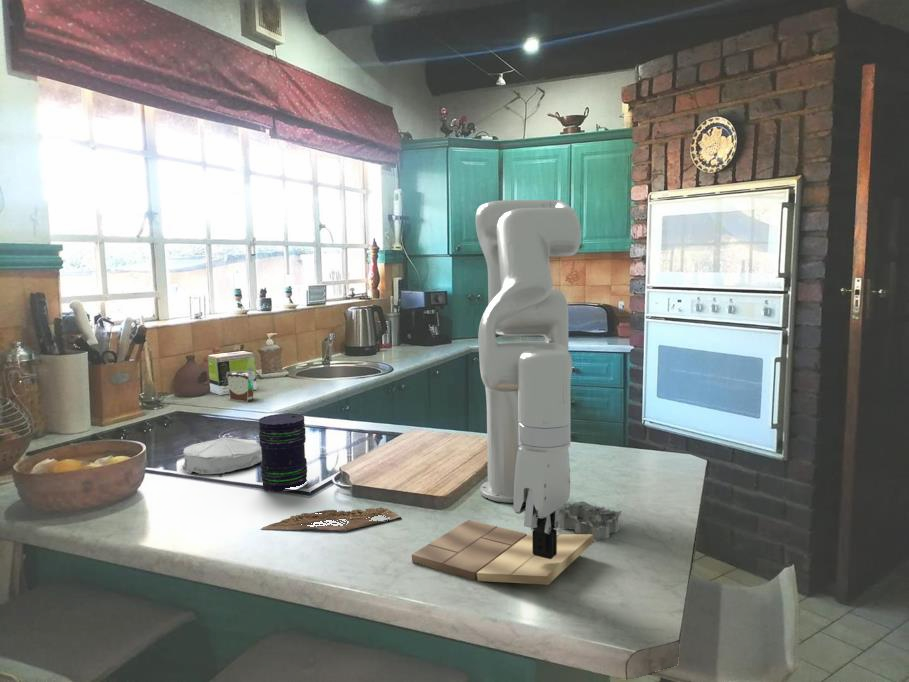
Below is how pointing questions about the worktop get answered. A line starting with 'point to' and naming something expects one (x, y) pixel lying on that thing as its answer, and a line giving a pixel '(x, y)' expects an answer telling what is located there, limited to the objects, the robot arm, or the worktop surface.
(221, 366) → the tea box
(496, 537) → the laid board
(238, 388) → the food container
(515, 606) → the worktop surface
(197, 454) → the food container
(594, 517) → the egg carton
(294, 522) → the wooden fragment
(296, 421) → the storage jar
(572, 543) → the plank
